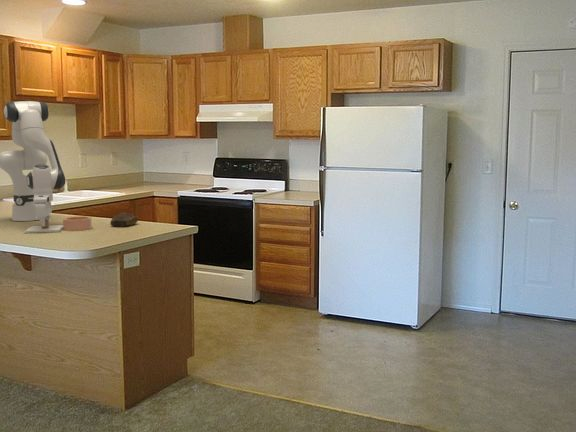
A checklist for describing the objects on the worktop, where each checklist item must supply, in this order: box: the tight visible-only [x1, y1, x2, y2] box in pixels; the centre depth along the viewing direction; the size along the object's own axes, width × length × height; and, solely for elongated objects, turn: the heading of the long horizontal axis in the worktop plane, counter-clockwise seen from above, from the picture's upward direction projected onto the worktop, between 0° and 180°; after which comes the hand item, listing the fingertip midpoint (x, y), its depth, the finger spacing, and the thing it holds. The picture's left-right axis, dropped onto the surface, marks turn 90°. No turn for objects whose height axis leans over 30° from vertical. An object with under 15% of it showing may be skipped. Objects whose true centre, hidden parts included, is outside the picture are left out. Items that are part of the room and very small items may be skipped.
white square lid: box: [24, 219, 64, 234], centre depth 324 cm, size 16×16×5 cm
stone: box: [109, 211, 139, 228], centre depth 341 cm, size 10×14×6 cm
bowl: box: [62, 215, 93, 232], centre depth 326 cm, size 13×13×6 cm
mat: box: [22, 228, 64, 235], centre depth 324 cm, size 19×17×1 cm
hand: (45, 224), depth 324 cm, fingers open, 7 cm apart
